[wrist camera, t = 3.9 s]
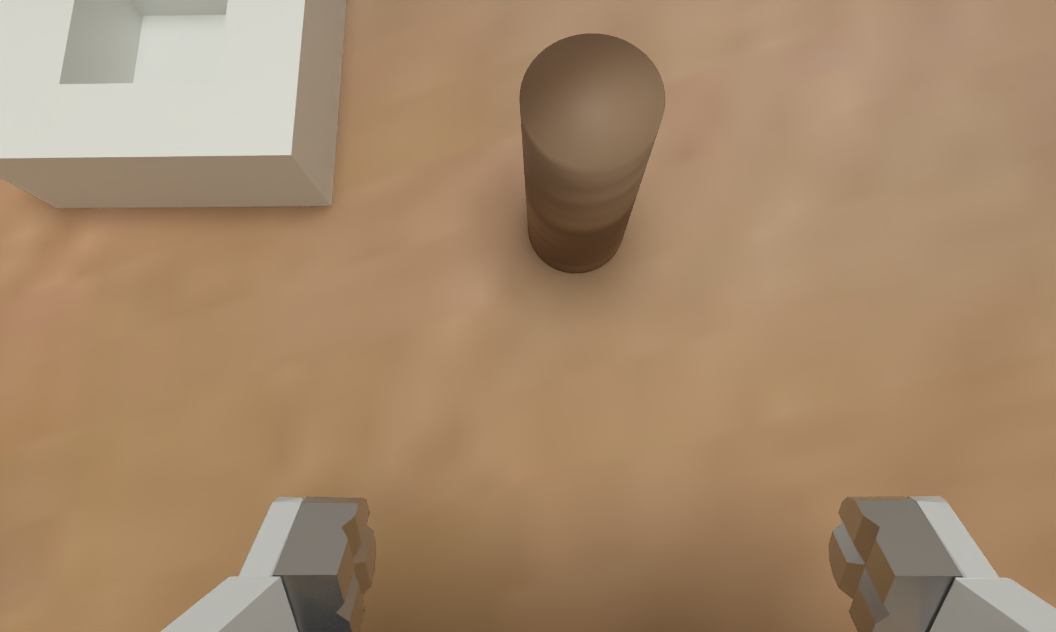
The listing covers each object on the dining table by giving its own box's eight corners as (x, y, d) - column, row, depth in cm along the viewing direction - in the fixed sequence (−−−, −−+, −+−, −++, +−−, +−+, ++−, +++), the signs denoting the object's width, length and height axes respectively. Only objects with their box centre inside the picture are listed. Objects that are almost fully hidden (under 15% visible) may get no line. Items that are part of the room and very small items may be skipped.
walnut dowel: (643, 232, 28) (695, 103, 18) (571, 292, 27) (585, 192, 18) (580, 165, 29) (598, 8, 19) (508, 222, 28) (490, 90, 18)
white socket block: (333, 208, 29) (291, 155, 24) (61, 211, 29) (-36, 158, 24) (350, -29, 32) (315, -120, 27) (102, -24, 32) (22, -113, 27)
